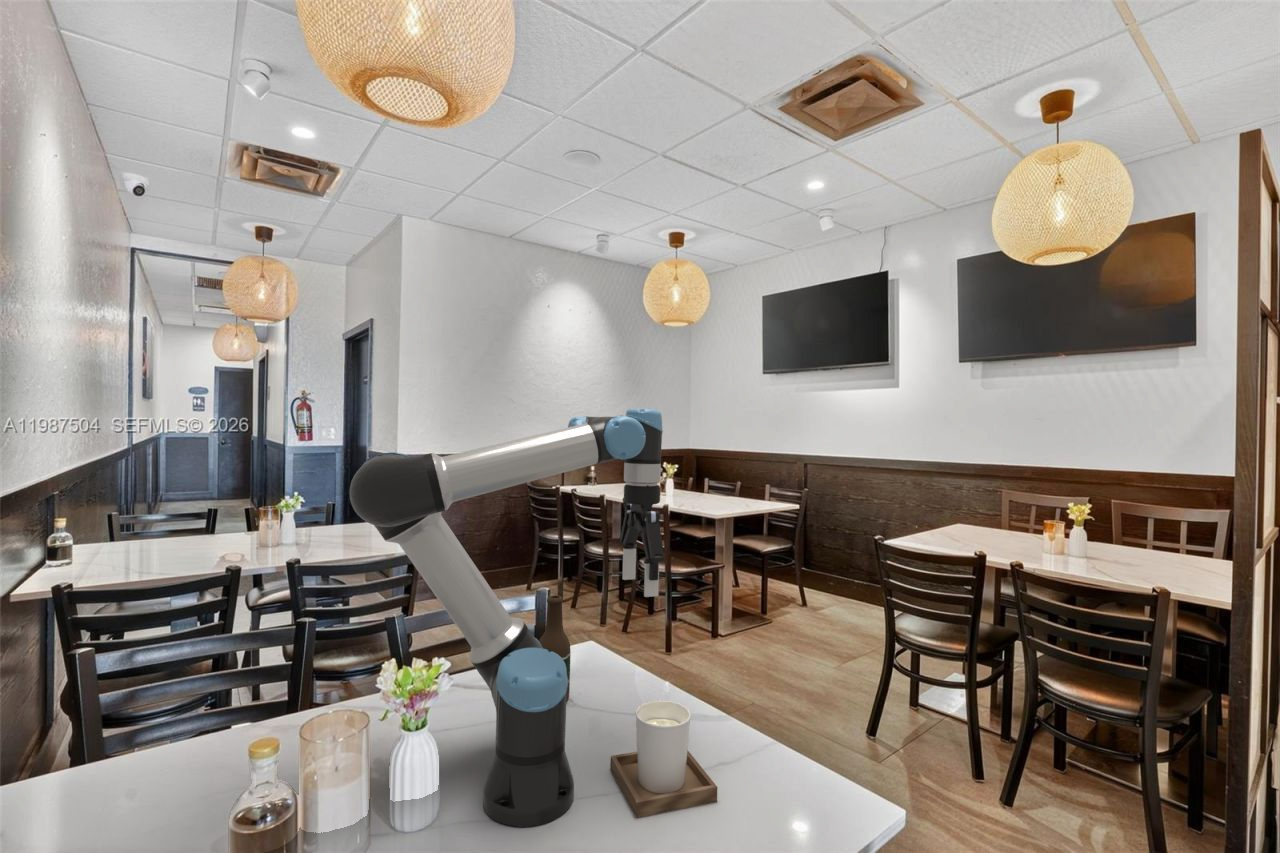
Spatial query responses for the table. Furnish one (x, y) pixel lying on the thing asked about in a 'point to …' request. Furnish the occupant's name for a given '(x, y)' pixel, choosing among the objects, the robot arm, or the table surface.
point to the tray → (649, 803)
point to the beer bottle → (556, 634)
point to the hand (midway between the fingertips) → (639, 587)
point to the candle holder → (662, 745)
